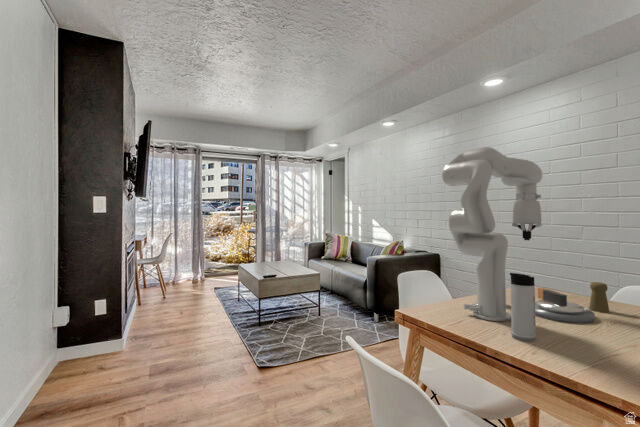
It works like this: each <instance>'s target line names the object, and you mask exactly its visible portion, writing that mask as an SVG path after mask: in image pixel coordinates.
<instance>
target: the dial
mask: <svg viewBox="0 0 640 427" xmlns="http://www.w3.org/2000/svg"><path fill="white" fill-rule="evenodd" d="M537 299H540V300H537V301H536V302H537V306H538V307H539V308H541V309H543V310H547V311H551V312H556V313H563V314H582V313H583V312H584V308H585V307H584V306H582V305H580V304H577V303H575V302H570V301H568V297H567V294H564V293H560V292H557V291H554V290H550V289H548V288H544V287H537Z"/></svg>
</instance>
